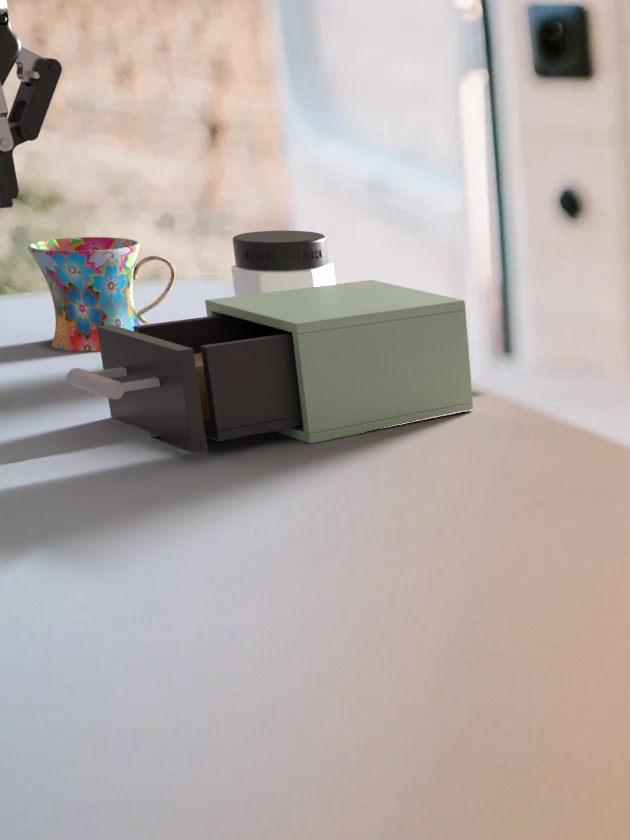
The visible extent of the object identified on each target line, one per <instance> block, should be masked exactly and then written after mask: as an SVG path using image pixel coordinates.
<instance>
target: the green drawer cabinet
mask: <svg viewBox="0 0 630 840" xmlns="http://www.w3.org/2000/svg"><path fill="white" fill-rule="evenodd" d="M204 304H205V309H206V310H205V311H206V317H209V316H216V315H224V314H225V315H229V316H233V317H237V318H240V319H244V320H248V321H252V322H255V323H259V324H263V325H267V326H270V327H274V328H278V329H282V330H285V331H289V332H293V333H292V335H293V343H294V351H295V360H296V368H297V377H298V385H299V394H300V402H301V410H302V419H303V425H302V426H297V427H292V428H286V429H281V430H276V431H273V432H275V433H278V434H280V435H284V436H286V437H290V438H293V439H296V440H298V441H301V442H304V443H308V444H316V443H321V442H326V441H330V440H335V439H341V438H345V437H350V436H356V435H360V433H361V434H365V432H366V433H368V432H367V431H371V432H373V431H372V430H376V429H381V428H384V427H388V426H392V425H396V424H397V425H398V424H402V423H406V422H412V421H416V420H422V419H425V418H429V417H433V416H434V417H435V416H439V415H444V414H449V413H453V412H458V411H465V410H470V409H473V410H474V402H473V401H474V398H473V387H472V386H473V385H472V372H471V360H470V348H469V346H470V345H469V335H468V324H467V323H468V321H467V310H466V301H465V300H464V299H459V298H455V297H450V296H446V295H441V294H437V293H432V292H428V291H424V290H419V289H414V288H410V287H405V286H401V285H396V284H391V283H388V282H382V281H379V280H374V279H368V280H359V281H353V282H342V283H336V284H334V285H326V286H317V287H309V288H301V289H293V290H284V291H276V292H268V293H259V294H251V295H243V296H235V295H234V296H227V297H219V298H210V299H205V300H204ZM381 430H382V429H381ZM376 431H377V430H376Z"/></svg>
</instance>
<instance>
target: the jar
mask: <svg viewBox="0 0 630 840" xmlns="http://www.w3.org/2000/svg"><path fill="white" fill-rule="evenodd" d="M232 246H233V253H234V261H235V264H234V265H232V266H231V267H230V269H231V277H232V278H231V279H232V287H233V293H234V297H235V296H243V295H251V294H259V293H268V292H276V291H284V290H293V289H301V288H309V287H317V286H326V285H334V284H337V282H336V275H335V274H336V273H335V266H334V265H335V264H334V263H333V262H329V255H328V254H329V253H328V245H327V238H326V236H325V235H324V234H323V233H320V232H315V231H305V230H263V231H251V232H244V233H239V234H236V235H234V236H233V237H232Z"/></svg>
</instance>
